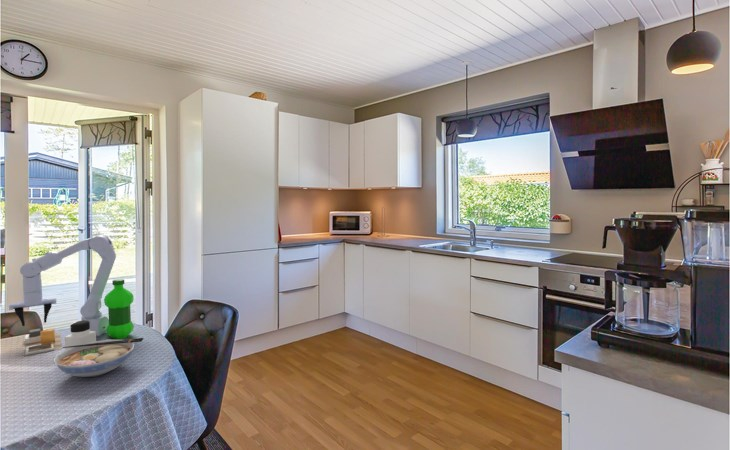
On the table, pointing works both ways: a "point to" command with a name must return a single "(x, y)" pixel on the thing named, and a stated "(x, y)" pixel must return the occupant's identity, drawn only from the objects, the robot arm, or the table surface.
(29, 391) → the table surface
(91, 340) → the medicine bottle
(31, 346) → the grey square frame
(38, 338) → the frame
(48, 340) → the cap
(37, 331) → the button
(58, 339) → the tan flat plate
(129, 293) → the plastic bottle
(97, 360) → the ramen bowl
